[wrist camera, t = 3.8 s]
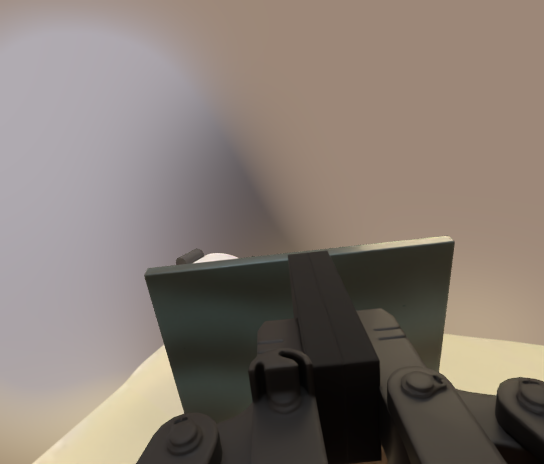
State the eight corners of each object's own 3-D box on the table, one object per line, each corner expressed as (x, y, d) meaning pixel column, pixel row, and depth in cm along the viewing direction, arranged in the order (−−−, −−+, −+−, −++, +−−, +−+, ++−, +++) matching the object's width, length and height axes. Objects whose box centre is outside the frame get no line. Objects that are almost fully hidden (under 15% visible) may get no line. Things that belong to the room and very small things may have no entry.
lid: (147, 267, 21) (143, 275, 20) (448, 234, 21) (455, 241, 20) (196, 440, 27) (194, 450, 26) (427, 415, 27) (432, 425, 26)
